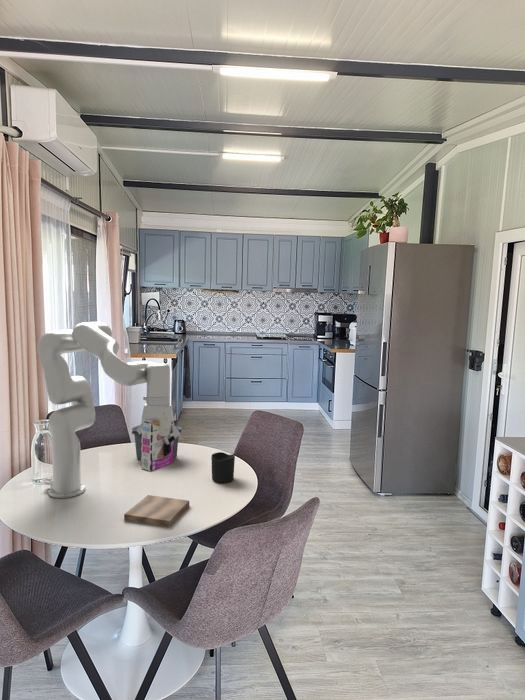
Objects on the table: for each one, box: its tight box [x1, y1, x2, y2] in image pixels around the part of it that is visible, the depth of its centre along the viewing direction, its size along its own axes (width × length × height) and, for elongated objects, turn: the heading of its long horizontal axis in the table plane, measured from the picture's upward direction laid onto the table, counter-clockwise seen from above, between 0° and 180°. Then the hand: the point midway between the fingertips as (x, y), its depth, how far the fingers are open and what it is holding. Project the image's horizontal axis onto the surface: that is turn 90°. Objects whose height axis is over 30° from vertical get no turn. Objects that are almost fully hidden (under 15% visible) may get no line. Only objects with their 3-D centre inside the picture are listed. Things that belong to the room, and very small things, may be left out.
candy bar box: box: [140, 420, 174, 473], centre depth 155 cm, size 11×5×16 cm, turn 150°
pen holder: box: [210, 451, 236, 484], centre depth 188 cm, size 9×9×10 cm
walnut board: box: [123, 494, 190, 528], centre depth 157 cm, size 16×16×2 cm
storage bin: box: [130, 424, 183, 460], centre depth 212 cm, size 21×16×14 cm
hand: (158, 453), depth 155 cm, fingers closed on candy bar box, 5 cm apart
